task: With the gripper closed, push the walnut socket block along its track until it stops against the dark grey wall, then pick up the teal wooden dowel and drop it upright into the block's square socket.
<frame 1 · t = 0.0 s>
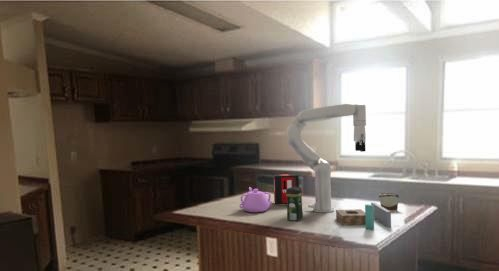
hand: (360, 151, 215), 37 cm above the table, tool pointing down, fingers open, 9 cm apart
teapot: (254, 210, 224), on the table
dowel: (369, 229, 172), on the table
backstop wall: (380, 221, 186), on the table
food container: (387, 209, 215), on the table
cleaning product box: (286, 203, 241), on the table
socket block: (352, 217, 186), point 3 cm above the table, slide at 7.0 cm
coffee jar: (294, 219, 196), on the table
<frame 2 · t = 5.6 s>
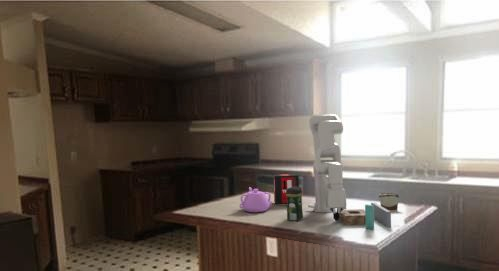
hand: (336, 220, 187), 1 cm above the table, tool pointing down, fingers closed
socket block: (354, 217, 186), point 3 cm above the table, slide at 5.8 cm, touching gripper
everything else where it was.
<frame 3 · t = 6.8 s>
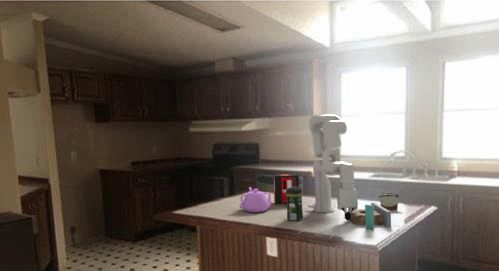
hand: (347, 219, 186), 1 cm above the table, tool pointing down, fingers closed
socket block: (365, 216, 186), point 3 cm above the table, slide at -0.2 cm, touching gripper
everything else where it was.
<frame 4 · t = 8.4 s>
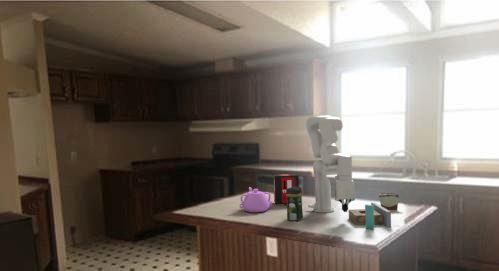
hand: (345, 211, 187), 6 cm above the table, tool pointing down, fingers closed
socket block: (365, 216, 186), point 3 cm above the table, slide at 0.0 cm
everything else where it was.
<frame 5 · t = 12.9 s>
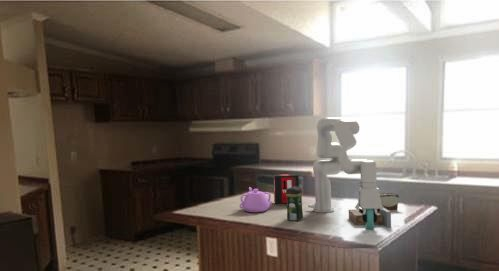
hand: (369, 221, 172), 4 cm above the table, tool pointing down, fingers closed on dowel, 4 cm apart
dowel: (369, 229, 172), on the table, touching gripper
everything else where it was.
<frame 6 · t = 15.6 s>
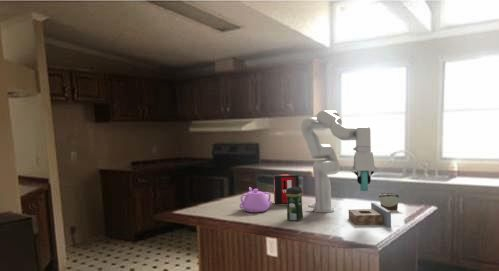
hand: (364, 183, 186), 21 cm above the table, tool pointing down, fingers closed on dowel, 4 cm apart
dowel: (364, 190, 186), point 17 cm above the table, touching gripper
everything else where it was.
when the fingers open (7 cm above the table, at t = 18.7 s): dowel drops 1 cm, resting on socket block.
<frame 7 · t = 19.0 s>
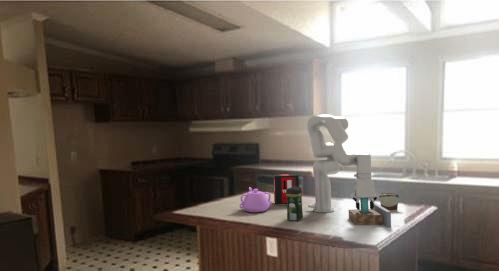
hand: (364, 209, 186), 7 cm above the table, tool pointing down, fingers open, 6 cm apart
dowel: (365, 219, 186), point 1 cm above the table, touching socket block
socket block: (365, 216, 186), point 3 cm above the table, slide at 0.0 cm, touching dowel
everything else where it was.
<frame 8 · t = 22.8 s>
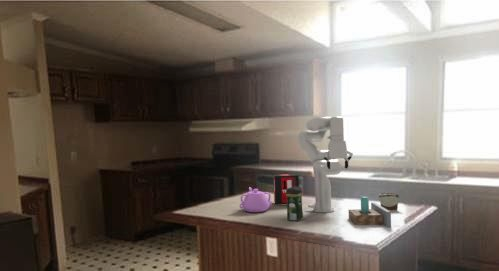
hand: (337, 168, 195), 28 cm above the table, tool pointing down, fingers open, 9 cm apart
nothing on the table moved.
at the end: socket block slide at 0.0 cm; dowel 0.0 cm off-centre on the socket block, point 1.0 cm above the socket block's base; dowel tilted 0° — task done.
